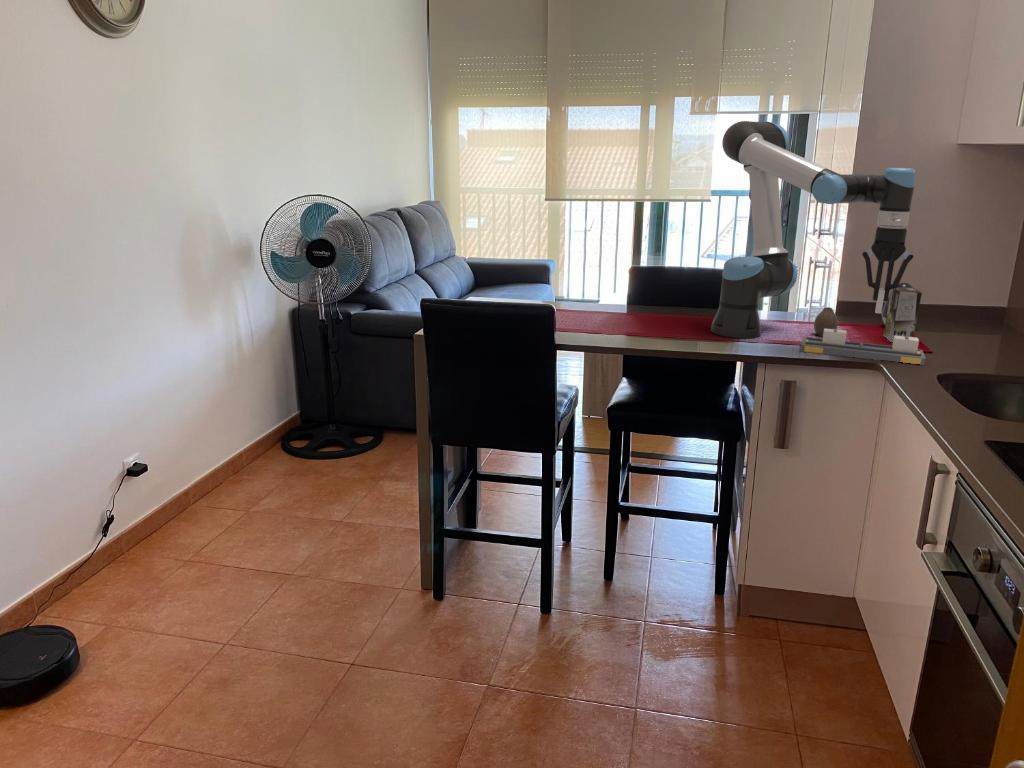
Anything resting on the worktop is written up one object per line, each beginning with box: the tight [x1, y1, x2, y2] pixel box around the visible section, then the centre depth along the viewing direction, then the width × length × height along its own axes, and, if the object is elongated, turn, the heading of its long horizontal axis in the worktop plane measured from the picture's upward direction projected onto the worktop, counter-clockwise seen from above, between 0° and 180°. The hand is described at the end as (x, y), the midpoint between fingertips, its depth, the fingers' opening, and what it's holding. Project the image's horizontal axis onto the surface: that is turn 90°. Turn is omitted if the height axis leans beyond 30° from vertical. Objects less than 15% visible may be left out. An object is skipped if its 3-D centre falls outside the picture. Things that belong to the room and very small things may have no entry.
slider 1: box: [822, 328, 847, 345], centre depth 217 cm, size 6×4×4 cm, turn 67°
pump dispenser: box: [881, 281, 914, 325], centre depth 247 cm, size 10×10×15 cm
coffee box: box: [883, 287, 923, 343], centre depth 229 cm, size 9×6×16 cm
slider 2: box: [891, 335, 920, 353], centre depth 210 cm, size 6×4×4 cm, turn 67°
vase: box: [813, 306, 839, 337], centre depth 236 cm, size 7×7×9 cm
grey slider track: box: [800, 336, 927, 366], centre depth 215 cm, size 32×10×3 cm, turn 67°
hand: (878, 312), depth 211 cm, fingers closed
